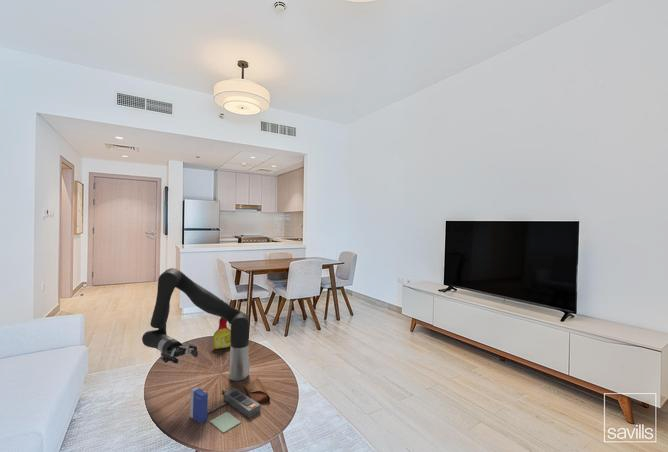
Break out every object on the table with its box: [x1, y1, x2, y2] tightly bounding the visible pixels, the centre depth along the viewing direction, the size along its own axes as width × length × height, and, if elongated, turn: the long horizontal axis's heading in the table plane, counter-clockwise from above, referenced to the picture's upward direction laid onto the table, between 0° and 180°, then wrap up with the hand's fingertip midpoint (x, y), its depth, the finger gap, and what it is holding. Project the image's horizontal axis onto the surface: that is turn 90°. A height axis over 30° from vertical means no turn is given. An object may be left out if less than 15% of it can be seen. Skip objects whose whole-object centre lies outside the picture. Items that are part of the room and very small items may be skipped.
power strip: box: [207, 388, 261, 419], centre depth 132 cm, size 25×18×3 cm
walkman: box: [189, 386, 209, 425], centre depth 125 cm, size 8×3×12 cm, turn 57°
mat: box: [209, 411, 242, 434], centre depth 123 cm, size 8×10×1 cm
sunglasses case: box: [243, 377, 271, 405], centre depth 144 cm, size 18×7×7 cm
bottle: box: [212, 317, 231, 350], centre depth 193 cm, size 12×6×20 cm, turn 120°
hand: (187, 357), depth 131 cm, fingers open, 8 cm apart
